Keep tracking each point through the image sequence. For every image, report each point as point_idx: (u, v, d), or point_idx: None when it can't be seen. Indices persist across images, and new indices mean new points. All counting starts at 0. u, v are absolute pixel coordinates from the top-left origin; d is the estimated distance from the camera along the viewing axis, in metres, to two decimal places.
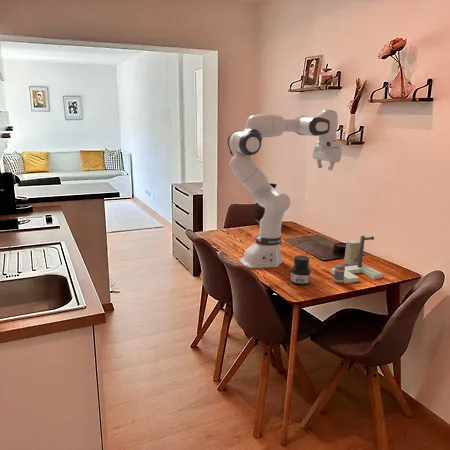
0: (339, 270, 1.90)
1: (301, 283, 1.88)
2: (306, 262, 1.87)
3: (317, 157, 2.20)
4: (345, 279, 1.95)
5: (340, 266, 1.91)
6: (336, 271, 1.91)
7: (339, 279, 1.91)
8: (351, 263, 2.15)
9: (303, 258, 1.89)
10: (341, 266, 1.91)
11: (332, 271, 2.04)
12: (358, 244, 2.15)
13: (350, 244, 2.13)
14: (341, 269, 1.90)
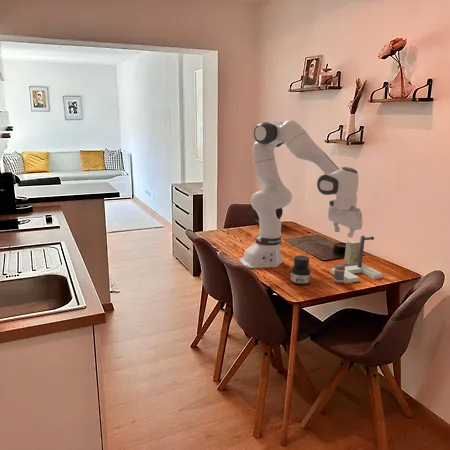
0: (339, 270, 1.90)
1: (301, 283, 1.88)
2: (306, 262, 1.87)
3: None
4: (345, 279, 1.95)
5: (340, 266, 1.91)
6: (336, 271, 1.91)
7: (339, 279, 1.91)
8: (351, 263, 2.15)
9: (303, 258, 1.89)
10: (341, 266, 1.91)
11: (332, 271, 2.04)
12: (358, 244, 2.15)
13: (350, 244, 2.13)
14: (341, 269, 1.90)
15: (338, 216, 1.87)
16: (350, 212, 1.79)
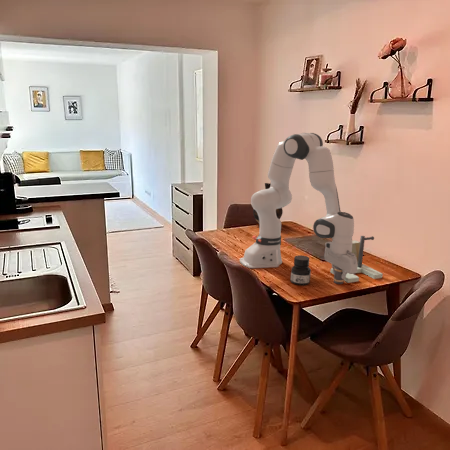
0: (339, 270, 1.90)
1: (301, 283, 1.88)
2: (306, 262, 1.87)
3: None
4: (345, 279, 1.95)
5: None
6: (336, 271, 1.91)
7: (339, 279, 1.91)
8: None
9: (303, 258, 1.89)
10: None
11: (332, 271, 2.04)
12: (358, 244, 2.15)
13: None
14: (341, 269, 1.90)
15: (334, 258, 1.92)
16: (345, 256, 1.84)
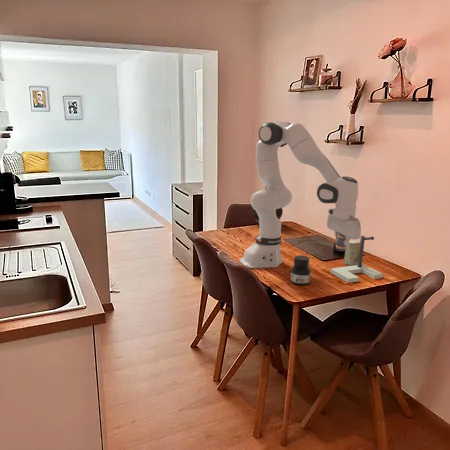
0: (342, 236, 1.86)
1: (301, 283, 1.88)
2: (306, 262, 1.87)
3: None
4: (345, 279, 1.95)
5: None
6: (339, 238, 1.87)
7: (342, 246, 1.87)
8: (351, 263, 2.15)
9: (303, 258, 1.89)
10: None
11: (332, 271, 2.04)
12: (358, 244, 2.15)
13: (350, 244, 2.13)
14: None
15: (337, 225, 1.88)
16: (349, 222, 1.80)
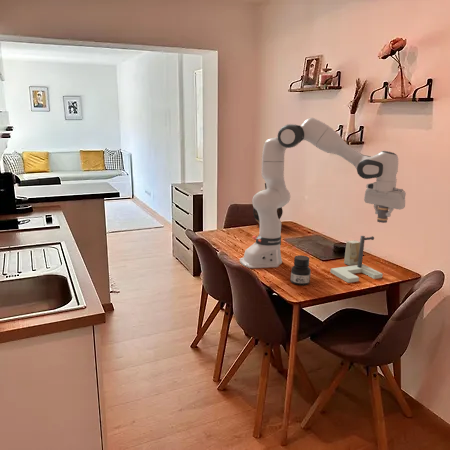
0: (384, 208, 1.94)
1: (301, 283, 1.88)
2: (306, 262, 1.87)
3: None
4: (345, 279, 1.95)
5: None
6: (381, 210, 1.95)
7: (384, 217, 1.95)
8: (351, 263, 2.15)
9: (303, 258, 1.89)
10: None
11: (332, 271, 2.04)
12: (358, 244, 2.15)
13: (350, 244, 2.13)
14: (386, 207, 1.94)
15: (377, 198, 1.96)
16: (393, 193, 1.89)
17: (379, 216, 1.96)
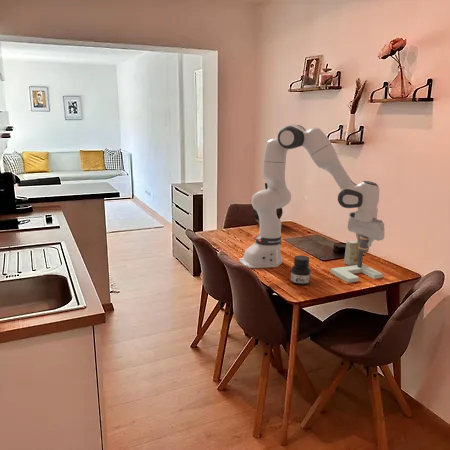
0: (365, 238, 1.94)
1: (301, 283, 1.88)
2: (306, 262, 1.87)
3: None
4: (345, 279, 1.95)
5: None
6: (362, 239, 1.95)
7: (365, 247, 1.95)
8: (351, 263, 2.15)
9: (303, 258, 1.89)
10: None
11: (332, 271, 2.04)
12: (358, 244, 2.15)
13: (350, 244, 2.13)
14: (367, 237, 1.94)
15: (359, 227, 1.96)
16: (372, 224, 1.88)
17: (360, 245, 1.96)
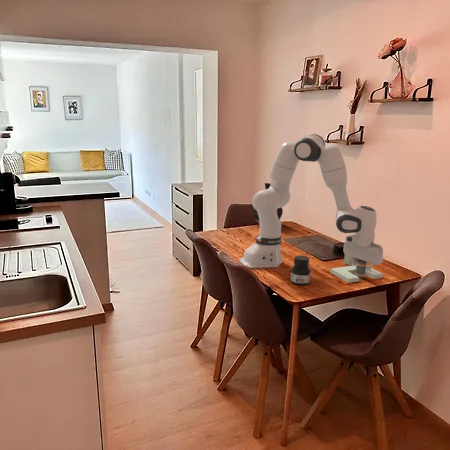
0: (362, 265, 1.97)
1: (301, 283, 1.88)
2: (306, 262, 1.87)
3: None
4: (345, 279, 1.95)
5: (362, 261, 1.99)
6: (359, 266, 1.98)
7: (362, 273, 1.98)
8: (351, 263, 2.15)
9: (303, 258, 1.89)
10: (363, 261, 1.99)
11: (332, 271, 2.04)
12: None
13: None
14: (364, 264, 1.97)
15: (356, 251, 1.98)
16: (371, 248, 1.91)
17: (357, 272, 1.99)
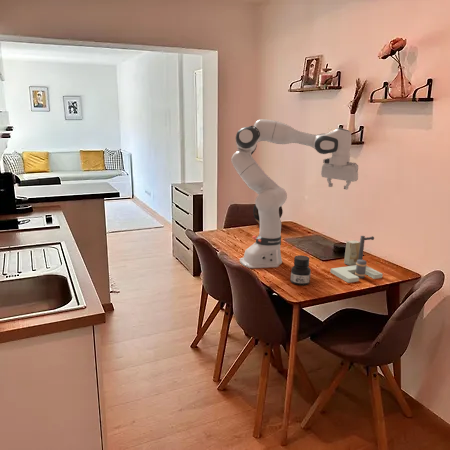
0: (362, 265, 1.97)
1: (301, 283, 1.88)
2: (306, 262, 1.87)
3: None
4: (345, 279, 1.95)
5: (362, 261, 1.99)
6: (359, 266, 1.98)
7: (362, 273, 1.98)
8: (351, 263, 2.15)
9: (303, 258, 1.89)
10: (363, 261, 1.99)
11: (332, 271, 2.04)
12: (358, 244, 2.15)
13: (350, 244, 2.13)
14: (364, 264, 1.97)
15: (333, 172, 2.13)
16: (347, 167, 2.06)
17: (357, 272, 1.99)
